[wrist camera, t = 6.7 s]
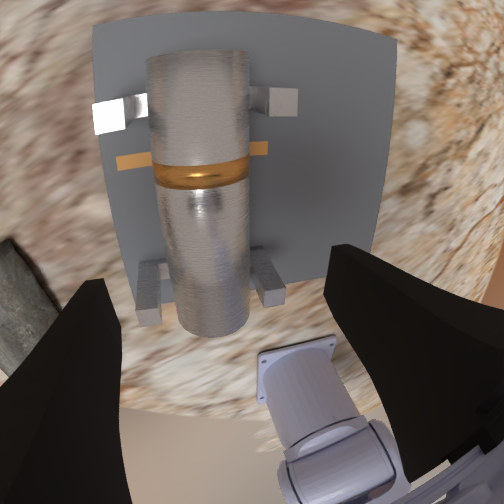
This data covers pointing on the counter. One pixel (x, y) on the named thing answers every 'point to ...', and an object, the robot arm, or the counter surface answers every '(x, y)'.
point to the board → (263, 132)
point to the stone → (20, 310)
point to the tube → (203, 182)
